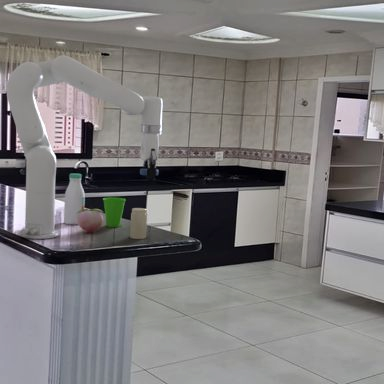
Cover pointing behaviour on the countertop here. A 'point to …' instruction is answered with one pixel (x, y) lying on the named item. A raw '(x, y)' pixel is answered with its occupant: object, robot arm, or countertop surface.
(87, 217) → the decorative fruit
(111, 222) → the cup
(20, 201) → the countertop surface
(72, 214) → the milk bottle
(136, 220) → the jar
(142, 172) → the jar lid
